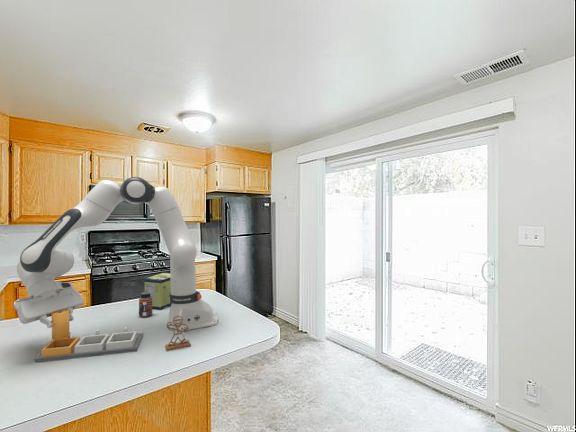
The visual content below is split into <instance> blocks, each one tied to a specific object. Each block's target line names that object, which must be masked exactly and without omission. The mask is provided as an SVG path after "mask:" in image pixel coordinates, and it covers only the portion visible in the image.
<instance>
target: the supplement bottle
mask: <svg viewBox="0 0 576 432" xmlns="http://www.w3.org/2000/svg"><path fill="white" fill-rule="evenodd" d="M138 316H139V317H140V318H149V317H151V316H153V309H152V297H151V296H150V292H145V291H143V292H141V293H140V297H139V298H138Z"/></svg>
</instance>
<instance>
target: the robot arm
mask: <svg viewBox="0 0 576 432" xmlns="http://www.w3.org/2000/svg"><path fill="white" fill-rule="evenodd" d="M122 202H123V203H126V204H131V205H141V204H142V203H143V204H146V205H148V207H149V208H150V210H151V213H152V215H153V217H154V219H155V222H156V224H157V226H158V228H159V231H160V232H161V233H160V234H161V236H162V238H163V241H164V243H165V245H166V248H167V251H168V254H169V257H170V258H169V260H170V261H169V262H170V263H169V264H170V265H169V266H170V269H169V270H170V271H169V273H170V288H171V293H170V296H169V304H170V306H169V312H168V318H167V322H166V327H167V326H168V325H170V324H171V323H172V325H174V324H176V323H179V322H180V321H181V322H182V320H180V321H177V322H176V321H174V324H173V319H174V317H176V316H181V317H182V318H181V317H176V318H175V319H177V320H178V319H183V322H182V324H186V325H187V326H188V327H187V326H186V325H180V327H177V328H179V330H178V331H180V332H181V328H184V329H185V328H189V331H190V330H196V329H200V328H206V327H213V326H215V325H217V323H218V321H219V318H218V316H217V314H216V313H214V311H213V308H212V306H211V305H210V304H209V303H208V302H207V301H205V300H203V299H202V294H201V291H199V290H198V291H197V272H196V271H197V270H196V257H197V254H198V249H197V247H196V244H195V242H194V240H193V237H192V235H191V233H190V231H189V228H188V225H187V224H186V222H185V219H184V216H183V214H182V212H181V209H180V207H179V205H178V203H177V200H176V198H175V197H174V195H173V193H172V192H171V190H170V189H169V188H168V187H166V186H160V185H159V186H155V187H154V186H153V185H152V184H151V183H150V182H148V181H147V180H146V179H144V178H142V177H139V176H131V177H128V178H126V179H125V180H124V181H123V183H116V182H115V181H113V180H109V179H103V180H101V181H99V182H98V183H97V184H95V185H94V186H93V187H92V188H91V189H90V191H88V193H87V194H86V195H85V197H84V198H83V199H82V200H81V201H80V202H79V203H78V204H77V205H76V206H74V207H73V208H71V209H68V210H66V211H65V212H64V213H63V214H62V215H60V216H59V217H58V218H57V219H56V220H55V221H54V222H53V223H52V224H51V225H50V226H49V227H48V228H47V229H46V230H45V231H44V232H43V233H42V234H41V235H40V236H39V237H38V238H37V239H36V240H35V241H33V242H32V243H31V244H29V245H28V246H27V247H25V248H24V249H23V251H21V253H20V257H19V260H18V262H17V264H16V272H17V275H18V278H19V279H20V282H21V284H22V285H23V286H24V287H25V288H26V292H27V295H28V296H26V297H24V298H18V299H16V301H14V302H13V308H14V309H15V310H16V312H17V316H18V320H19V322H20V323H22V324H23V325H24V324H25V325H27V324H29V323H33V322H36V321H39V322H40V323H42V324H43V325H46V327H47V328H48V329H52V327H53V326H54V325H55V324H54V323H53V321H52V320H50V319H48V318H51V317H52V313H53V312H56V311H60V310H69V322H72V321H74V319H75V318H74V316H73V312H74V310H77V309H80V308H81V307H82V306H83V304H84V301H85V299H84V297H83V296H82V295H81V293H80V292H79V290H77V288H74V283H73V282H65V281H64V282H63V281H62V282H61V281H56V279H57V278H60V277H61V276H63V275H65V274H67V273H68V272H69V271H71V270H72V268H73V267H74V264H75V257H74V255H73V254H72V253H71V252H70V251H68V250H65V249H61V248H57V246H59V244H60V243H61V242H62V241H63V240H64V239H65V238H66V237H68V235H69V234H70V233H71V232H73V231H74V230H76V229H79V228H80V229H81V228H86V227H87V228H88V227H96V226H99V225H102V224H103V223H104V222H105V221H106V220H107V219H108V218H109V217H110V216H111V214H112V213H113V212H114V209H115V208H116V207H117V206H118V204H120V203H122ZM175 319H174V320H175ZM168 322H171V323H168ZM175 322H176V323H175ZM181 322H180V323H181ZM167 323H168V325H167ZM180 323H179V324H180ZM179 324H177V326H178V325H179ZM172 325H171V326H169V327H168V328H169V329H174V330H175V329H176V330H177V328H176V327H175V326H172ZM187 330H188V329H187ZM187 330H186V331H187ZM182 332H184V330H183V329H182Z"/></svg>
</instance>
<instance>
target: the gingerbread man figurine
mask: <svg viewBox="0 0 576 432" xmlns="http://www.w3.org/2000/svg"><path fill="white" fill-rule="evenodd" d="M176 317H181V316H176ZM176 317H174V319H175V318H176ZM181 318H182V317H181ZM174 319H173V324H174V321H176V322H177V321H180V320H182V322H183V319H178V320H177V319H175V320H174ZM167 322H168V321H167ZM167 322H166V328H167V329H168V330H169V331H172V332H173V335H172V337H171V340H170V341H169V343H168V344H167V343H166V344H165V346H164V348H165V352H170V351H175V350H180V349H184V348H185V347H186V348H189V347H191V341H190V340H187V339H186V338H185V336H184V335H183V332H184V333H188V332H189V331H190V330H189V328H185V329H184V328H181V331H180V330H179V328H177V327H180V325H186V324H182V322H181V321H180V322H181V323H180V322H179V323H180V324H179V323H176V322H175V323H176V324H174V325H172V323H171V322H168V323H171V324H170V325H168V323H167ZM177 324H179V325H178V326H177ZM167 325H168V326H167ZM171 325H172V326H175V327H176V328H177V329H176V330H177V331H176V330H175V329H174V328H170V327H169V326H171ZM186 326H187V325H186ZM187 327H188V326H187ZM182 329H183V330H184V331H182ZM187 329H188V330H187ZM175 331H176V333H175ZM179 331H180V332H179ZM179 335H181V336H182V337H183V339H180V337H179ZM175 336H177V337H176V339H175V341H173V339H174V338H175ZM178 340H179V341H178ZM177 341H178V342H177Z"/></svg>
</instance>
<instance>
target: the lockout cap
mask: <svg viewBox="0 0 576 432" xmlns="http://www.w3.org/2000/svg"><path fill="white" fill-rule="evenodd" d="M51 321H53V323H54V324H55V325H54V326H53V327H51V339H52V340H53V339H54V340H59V339H63V338H66V337H68V336H69V335H70V334H71V332H70V321H69V310H60V311H56V312H53V313H52V316H51ZM69 332H70V333H69Z"/></svg>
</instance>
